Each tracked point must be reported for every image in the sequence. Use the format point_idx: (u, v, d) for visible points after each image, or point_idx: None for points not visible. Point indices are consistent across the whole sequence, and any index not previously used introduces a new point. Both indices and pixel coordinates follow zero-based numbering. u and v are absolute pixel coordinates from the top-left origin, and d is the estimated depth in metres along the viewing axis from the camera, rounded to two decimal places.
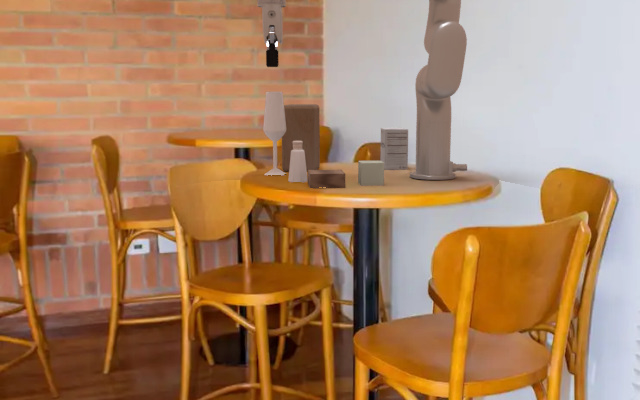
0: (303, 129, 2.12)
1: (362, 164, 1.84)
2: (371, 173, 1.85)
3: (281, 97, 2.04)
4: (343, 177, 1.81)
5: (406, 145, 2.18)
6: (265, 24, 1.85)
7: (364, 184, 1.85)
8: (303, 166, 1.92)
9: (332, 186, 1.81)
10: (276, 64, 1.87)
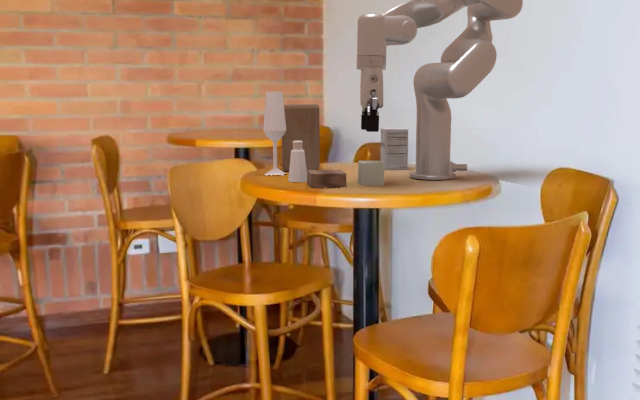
0: (303, 129, 2.12)
1: (362, 164, 1.84)
2: (371, 173, 1.85)
3: (281, 97, 2.04)
4: (344, 177, 1.81)
5: (406, 145, 2.18)
6: (366, 89, 1.79)
7: (364, 184, 1.85)
8: (303, 166, 1.92)
9: (333, 186, 1.81)
10: (376, 130, 1.80)
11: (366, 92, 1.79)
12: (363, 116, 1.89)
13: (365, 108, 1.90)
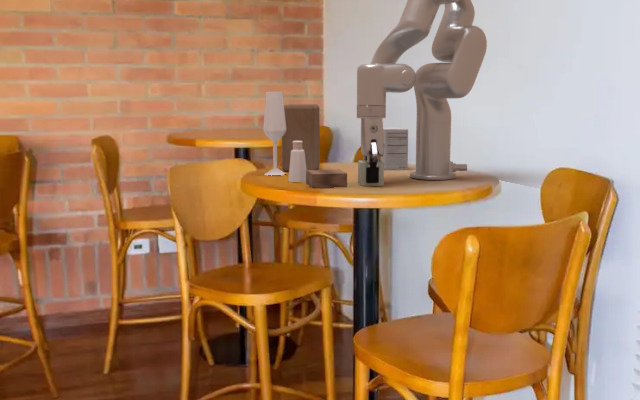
0: (303, 129, 2.12)
1: (362, 164, 1.84)
2: None
3: (281, 97, 2.04)
4: (345, 177, 1.81)
5: (406, 145, 2.18)
6: (367, 138, 1.81)
7: (364, 184, 1.85)
8: (303, 166, 1.92)
9: (334, 186, 1.81)
10: (376, 181, 1.84)
11: (366, 142, 1.81)
12: None
13: (367, 156, 1.91)
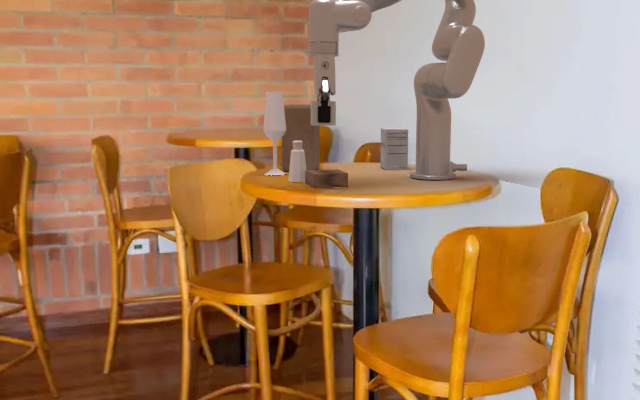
0: (304, 129, 2.12)
1: (313, 102, 1.79)
2: None
3: (281, 97, 2.04)
4: (346, 177, 1.82)
5: (406, 145, 2.18)
6: (318, 75, 1.76)
7: (315, 123, 1.79)
8: (303, 166, 1.92)
9: (335, 186, 1.81)
10: (328, 121, 1.79)
11: (318, 79, 1.76)
12: None
13: None
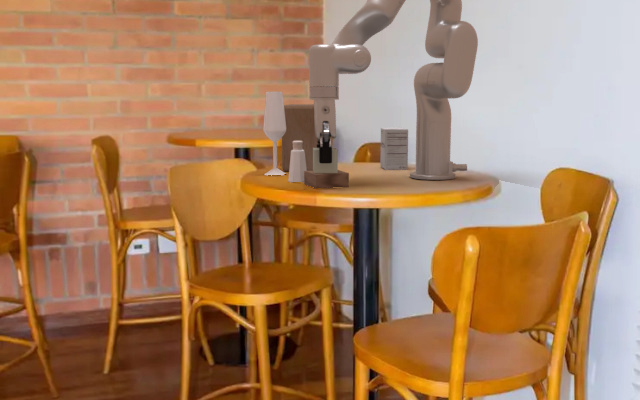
0: (303, 129, 2.12)
1: (315, 151, 1.81)
2: None
3: (281, 97, 2.04)
4: (347, 177, 1.82)
5: (406, 145, 2.18)
6: (318, 120, 1.78)
7: (317, 171, 1.82)
8: (303, 166, 1.92)
9: (336, 186, 1.82)
10: (329, 161, 1.79)
11: (318, 123, 1.78)
12: (318, 146, 1.88)
13: None
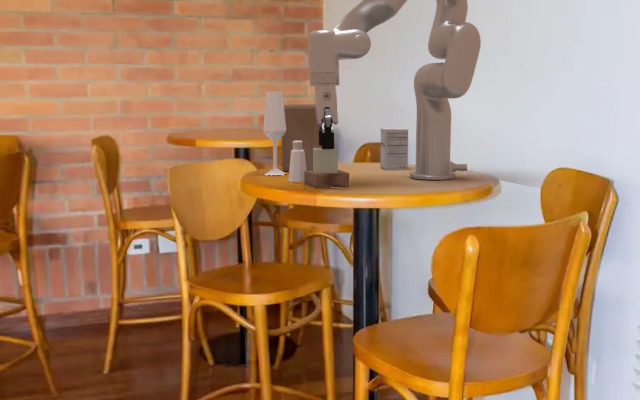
0: (304, 129, 2.12)
1: (315, 151, 1.81)
2: (324, 160, 1.81)
3: (281, 97, 2.04)
4: (347, 176, 1.82)
5: (406, 145, 2.18)
6: (320, 106, 1.77)
7: (317, 171, 1.82)
8: (303, 166, 1.92)
9: (337, 186, 1.82)
10: (332, 147, 1.79)
11: (320, 110, 1.77)
12: (320, 132, 1.88)
13: None
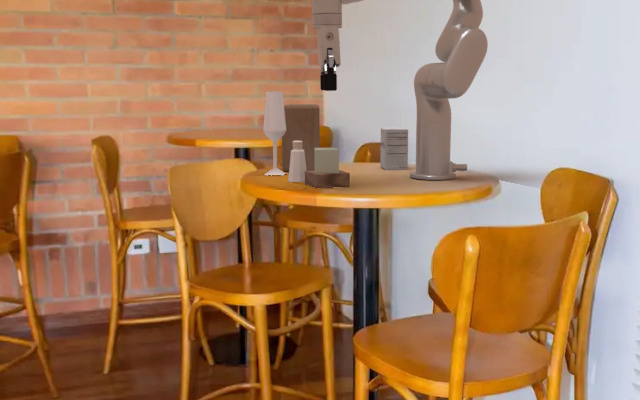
0: (303, 129, 2.12)
1: (316, 151, 1.81)
2: (325, 160, 1.81)
3: (281, 97, 2.04)
4: (348, 176, 1.82)
5: (406, 145, 2.18)
6: (323, 47, 1.77)
7: (318, 171, 1.82)
8: (303, 166, 1.92)
9: (337, 186, 1.82)
10: (334, 88, 1.78)
11: (322, 50, 1.77)
12: (322, 76, 1.87)
13: (324, 68, 1.88)
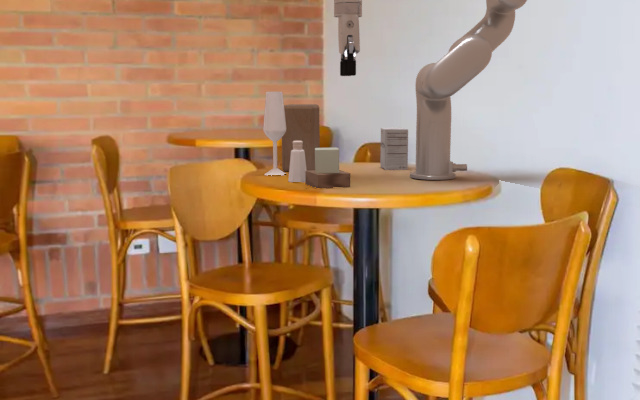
0: (303, 129, 2.12)
1: (316, 151, 1.81)
2: (325, 160, 1.81)
3: (281, 97, 2.04)
4: (348, 177, 1.82)
5: (406, 145, 2.18)
6: (343, 34, 1.88)
7: (319, 171, 1.82)
8: (303, 166, 1.92)
9: (338, 186, 1.82)
10: (353, 73, 1.89)
11: (343, 37, 1.88)
12: (342, 63, 1.98)
13: (344, 55, 1.99)
